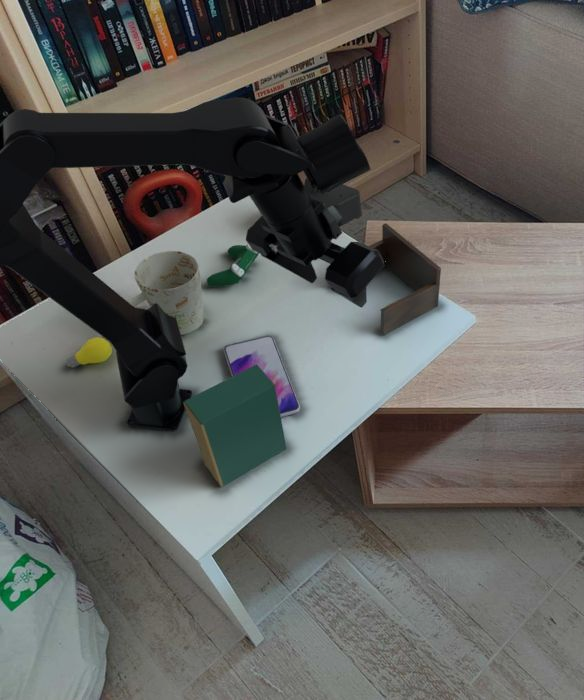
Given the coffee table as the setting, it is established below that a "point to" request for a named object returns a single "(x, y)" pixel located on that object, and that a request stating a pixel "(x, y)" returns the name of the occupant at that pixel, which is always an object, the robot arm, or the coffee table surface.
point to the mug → (172, 287)
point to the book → (237, 424)
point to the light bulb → (91, 352)
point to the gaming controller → (234, 267)
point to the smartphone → (264, 368)
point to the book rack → (407, 279)
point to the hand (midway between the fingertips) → (337, 292)
